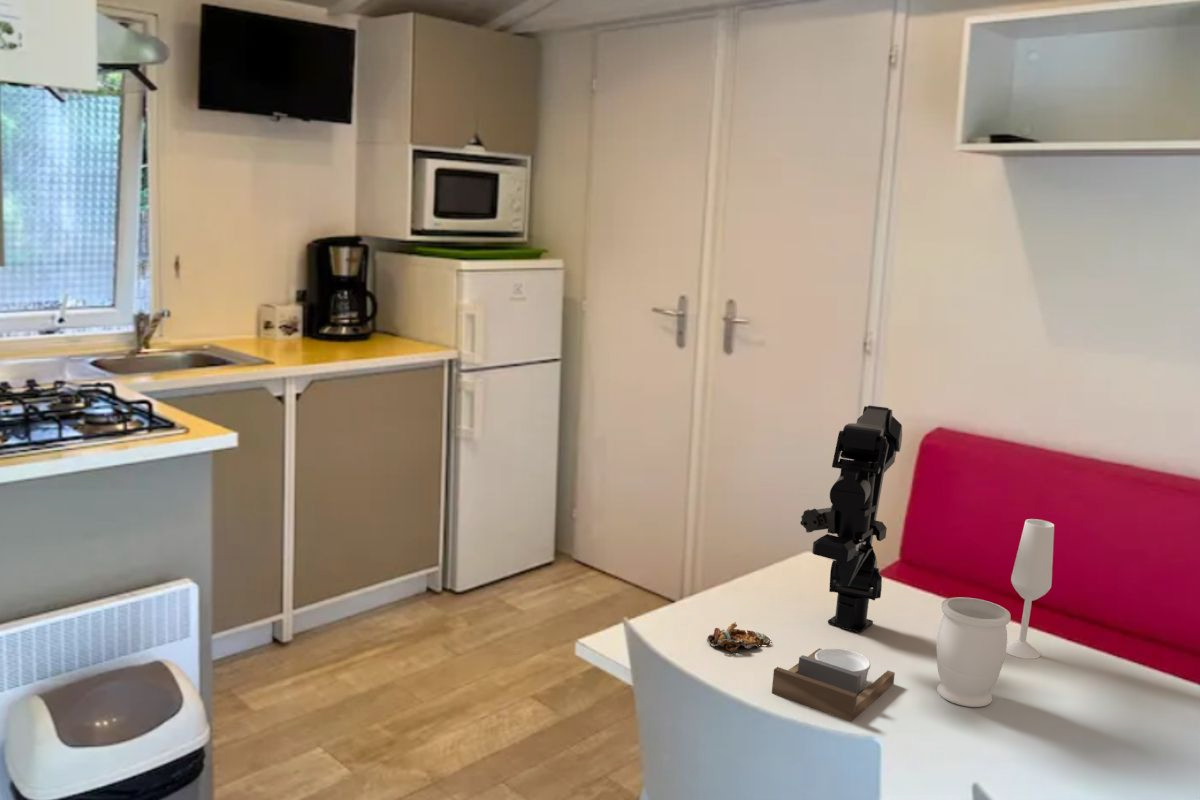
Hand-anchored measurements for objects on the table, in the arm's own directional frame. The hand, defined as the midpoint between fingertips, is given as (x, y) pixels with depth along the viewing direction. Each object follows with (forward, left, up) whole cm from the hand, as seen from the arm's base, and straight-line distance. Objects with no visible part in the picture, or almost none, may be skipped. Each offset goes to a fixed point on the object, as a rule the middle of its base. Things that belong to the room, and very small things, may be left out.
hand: (845, 585), depth 181 cm
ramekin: (+12, +6, -12) cm, 18 cm away
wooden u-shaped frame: (+14, +6, -12) cm, 19 cm away
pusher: (+17, +6, -12) cm, 21 cm away
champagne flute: (-24, +25, -12) cm, 37 cm away
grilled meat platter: (+10, -14, -13) cm, 21 cm away
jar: (+2, +23, -12) cm, 26 cm away
